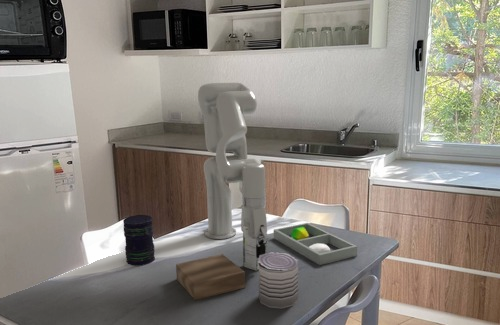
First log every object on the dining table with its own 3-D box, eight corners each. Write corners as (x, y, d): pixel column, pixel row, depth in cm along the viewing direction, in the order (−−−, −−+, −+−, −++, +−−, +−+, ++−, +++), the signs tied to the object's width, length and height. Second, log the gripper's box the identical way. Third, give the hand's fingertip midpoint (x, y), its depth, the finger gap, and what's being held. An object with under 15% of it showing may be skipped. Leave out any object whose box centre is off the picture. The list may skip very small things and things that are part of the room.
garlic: (310, 259, 158) (311, 249, 157) (304, 252, 165) (304, 242, 164) (332, 257, 160) (332, 247, 159) (325, 250, 166) (325, 240, 166)
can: (278, 286, 139) (278, 248, 136) (306, 299, 130) (307, 259, 128) (250, 298, 131) (249, 259, 129) (278, 313, 123) (277, 271, 121)
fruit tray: (273, 238, 179) (273, 229, 178) (307, 231, 186) (307, 222, 186) (319, 265, 153) (319, 255, 152) (357, 255, 160) (357, 246, 160)
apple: (293, 221, 175) (309, 227, 168) (303, 229, 179) (319, 235, 172) (284, 237, 174) (300, 244, 166) (294, 245, 177) (310, 251, 170)
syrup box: (253, 261, 157) (253, 220, 154) (267, 265, 153) (266, 224, 151) (243, 267, 153) (242, 225, 150) (256, 271, 149) (256, 228, 146)
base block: (176, 279, 145) (176, 264, 144) (223, 268, 152) (222, 254, 151) (195, 300, 131) (194, 283, 130) (245, 287, 138) (244, 271, 137)
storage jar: (122, 266, 156) (119, 223, 153) (130, 254, 165) (127, 215, 162) (151, 265, 155) (148, 223, 152) (158, 254, 165) (155, 214, 162)
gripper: (232, 197, 155) (233, 246, 158) (256, 209, 140) (257, 264, 143) (251, 193, 158) (252, 242, 161) (277, 206, 143) (278, 259, 146)
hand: (255, 252), depth 152 cm, fingers closed on syrup box, 7 cm apart
